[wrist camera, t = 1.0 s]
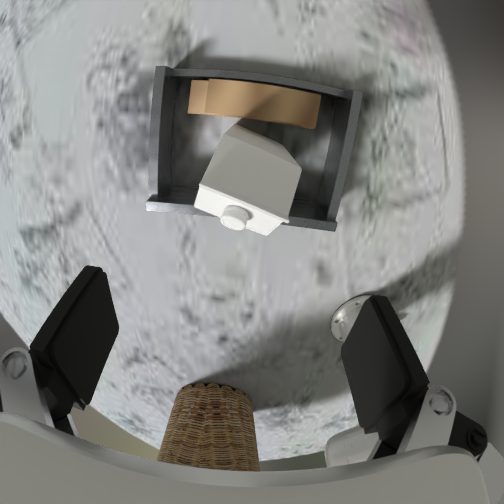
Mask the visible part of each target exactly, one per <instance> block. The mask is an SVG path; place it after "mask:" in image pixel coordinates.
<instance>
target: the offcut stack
mask: <svg viewBox="0 0 504 504" xmlns="http://www.w3.org/2000/svg"><path fill="white" fill-rule="evenodd" d="M320 100H321V95H318V94H314V93H309V92H304V91H300V90H295V89H289V88H284V87H278V86H272V85H265V84H258V83H251V82H242V81H232V80H220V79H209V80H192V82H191V90H190V98H189V106H188V113H191V114H207V115H219V116H230V117H239V118H247V119H255V120H262V121H269V122H275V123H281V124H287V125H293V126H298V127H303V128H308V129H309V128H311V129H314V128H316V123H317V117H318V112H319V106H320Z"/></svg>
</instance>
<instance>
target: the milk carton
mask: <svg viewBox="0 0 504 504" xmlns="http://www.w3.org/2000/svg"><path fill="white" fill-rule="evenodd" d="M301 171H302V169H301V167H300V166H299V165H298V164H297V162H296V161H295V160H294V158H293V157H292V156H291V155H290V153H289V152H288V151H287V150H286V148H285V147H284V146H283V145H282V144H280V143H278V142H276V141H274V140H272V139H269V138H267V137H265V136H263V135H261V134H258V133H256V132H254V131H251V130H249V129H247V128H244V127H242V126H240V125H237V124H234V125H233V126H232V127H231V128H230V129H229V130H228V131H227V132H226V133H225V134H223V136H222V138H221V140H220V143H219V145H218V147H217V149H216V151H215V153H214V155H213V157H212V159H211V161H210V163H209V166H208V168H207V170H206V172H205V174H204V176H203V179H202V181H201V182H200V184H199V186H200V187H199V190H198V194H197V197H196V200H195V204H194V207H196V208H198V209H200V210H203V211H205V212H207V213H210V214H212V215H215V216H218V217H220V218H221V219H220V220H221V223H222V224H223V225H224V226H226V227H228V228H231V229H234V230H243V229H244V228H247V229H250V230H252V231H255V232H257V233H260V234H262V235H265V236H267V235H268V234H269V233H270V232H272V231H273V230H274V229H275V228H276V227H277V226H278V225H280V224H281V223H282V222H285V223H289V222H290V221H289V218H288V215H289V211H290V208H291V205H292V201H293V198H294V195H295V191H296V188H297V185H298V181H299V178H300V175H301Z"/></svg>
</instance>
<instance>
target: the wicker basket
mask: <svg viewBox="0 0 504 504" xmlns="http://www.w3.org/2000/svg"><path fill="white" fill-rule="evenodd" d="M226 389H227V390H226ZM157 461H160V462H165V463H171V464H176V465H183V466H189V467H197V468H205V469H215V470H228V471H252V472H260V468H259V459H258V450H257V442H256V434H255V425H254V417H253V409H252V402H251V400H250V398H249V396H248V395H244V394H243V393H242V391H241V390H239V389H236V390H235V391H233V389H232V388H231V387H230V386H227V385H224V386H222V387H221V388H220V387H219V385H217V384H215V383H210V384H208V385H207V387H206V386H205V385H204V384H203V383H197V384H196V385H195V386H194V387H193V386H192V385H187V386H186V387H185V388H184V389H183V388H181V389H180V390H179V392H178V394H177V396H176V399H175V402H174V405H173V408H172V411H171V415H170V418H169V421H168V425H167V428H166V431H165V434H164V438H163V441H162V444H161V448H160V451H159V455H158V458H157Z"/></svg>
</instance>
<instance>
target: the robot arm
mask: <svg viewBox="0 0 504 504" xmlns="http://www.w3.org/2000/svg"><path fill="white" fill-rule="evenodd" d="M331 331H332V333H333V336H334V337H335V338H336V339H338V340H340V341H343V343H344V344H343V345H342V348H341V356H342V360H343V363H344V367H345V370H346V374H347V378H348V382H349V385H350V389H351V393H352V397H353V401H354V405H355V409H356V413H357V417H358V421H359V425H358V426H355V427H353V428H350V429H348V430H345V431H342V432H340V433H337V434H335V435H334V436H332V437H331V438H330V439H329V440H328V441H327V443H326V446H325V459H326V464H327V468H319V469H310V470H296V471H276V472H275V471H272V472H252V471H228V470H215V469H205V468H197V467H189V466H183V465H176V464H171V463H165V462H160V461H155V460H151V459H146V458H142V457H137V456H134V455H130V454H126V453H122V452H119V451H116V450H113V449H109V448H106V447H103V446H100V445H97V444H94V443H91V442H88V441H86V440H83V439H80V437H79V435H78V432H77V430H76V428H75V425H74V422H73V420H72V417H71V415H70V412H71V409H72V407H75V408H77V409H80V410H83V411H84V409H85V406H86V405H89V404H90V402H91V400H92V397H93V394H94V391H95V389H96V386H97V383H98V381H99V378H100V376H101V373H102V371H103V368H104V366H105V363H106V361H107V358H108V356H109V353H110V351H111V349H112V346H113V344H114V342H115V339H116V337H117V335H118V332H119V324H118V320H117V317H116V313H115V309H114V305H113V301H112V297H111V292H110V288H109V284H108V279H107V275H106V273H105V272H103V270H102V268H100V267H95V266H89V265H87V266H85V267H84V268H83V270H82V271H81V272H80V274H79V275H78V276H77V277H76V279H75V280H74V281H73V283H72V284H71V285H70V287H69V288H68V289H67V291H66V292H65V294H64V295H63V296H62V298H61V299H60V301H59V302H58V303H57V305H56V306H55V308H54V309H53V311H52V312H51V314H50V315H49V317H48V318H47V320H46V321H45V323H44V324H43V326H42V327H41V329H40V330H39V332H38V333H37V335H36V337H35V338H34V340H33V342H32V343H31V345H30V350H29V352H27V351H26V350H25V349H23V348H12V349H10V350H8V351H7V352H6V353H5V354H4V355H3V356H2V358H1V359H0V504H498V502H499V500H500V498H501V496H502V495H503V492H504V458H503V457H502V456H501V455H500V454H499V452H498V451H497V450H496V449H495V448H494V447H493V446H492V445H491V444H490V442H489V443H488V444H487V434H486V432H485V430H484V428H483V427H482V426H481V425H479V424H478V423H476V422H474V421H473V420H471V419H469V418H468V417H466V416H464V415H463V414H461V413H459V412H457V411H456V401H455V399H454V396H453V394H452V393H451V392H450V391H449V390H448V389H447V388H445V387H443V386H440V385H435V386H432V387H430V389H429V388H428V386H427V385H428V384H429V383H430V382H429V380H428V378H427V375H426V373H425V371H424V369H423V367H422V364H421V362H420V360H419V358H418V356H417V354H416V352H415V350H414V348H413V346H412V344H411V342H410V340H409V338H408V336H407V334H406V332H405V330H404V328H403V326H402V324H401V322H400V320H399V318H398V317H397V315H396V313H395V311H394V309H393V307H392V306H391V304H390V302H389V300H388V298H387V297H386V296H375V295H365V296H360V297H356V298H354V299H352V300H350V301H348V302H346V303H345V304H344V305H342V306H341V307H340V308H339V309H338V310H337V311H336V312H335V314H334V315H333V317H332V320H331Z"/></svg>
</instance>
